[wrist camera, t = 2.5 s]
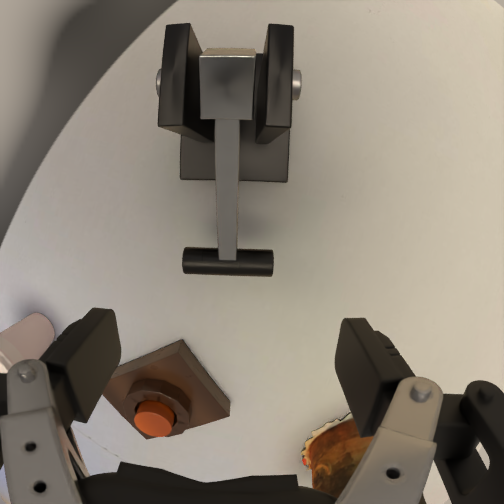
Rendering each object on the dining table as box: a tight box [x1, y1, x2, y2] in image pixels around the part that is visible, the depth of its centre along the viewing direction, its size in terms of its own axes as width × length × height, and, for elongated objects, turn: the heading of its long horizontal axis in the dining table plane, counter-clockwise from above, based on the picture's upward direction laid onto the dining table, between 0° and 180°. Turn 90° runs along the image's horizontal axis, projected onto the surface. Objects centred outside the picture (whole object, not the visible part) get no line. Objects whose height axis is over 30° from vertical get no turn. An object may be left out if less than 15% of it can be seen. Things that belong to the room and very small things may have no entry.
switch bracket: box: [156, 23, 301, 183], centre depth 16 cm, size 10×8×13 cm
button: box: [134, 400, 175, 437], centre depth 25 cm, size 4×4×2 cm
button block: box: [102, 340, 230, 439], centre depth 28 cm, size 11×9×4 cm
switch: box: [182, 48, 274, 277], centre depth 16 cm, size 13×6×2 cm, turn 178°
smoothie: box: [0, 313, 55, 373], centre depth 21 cm, size 6×6×14 cm
